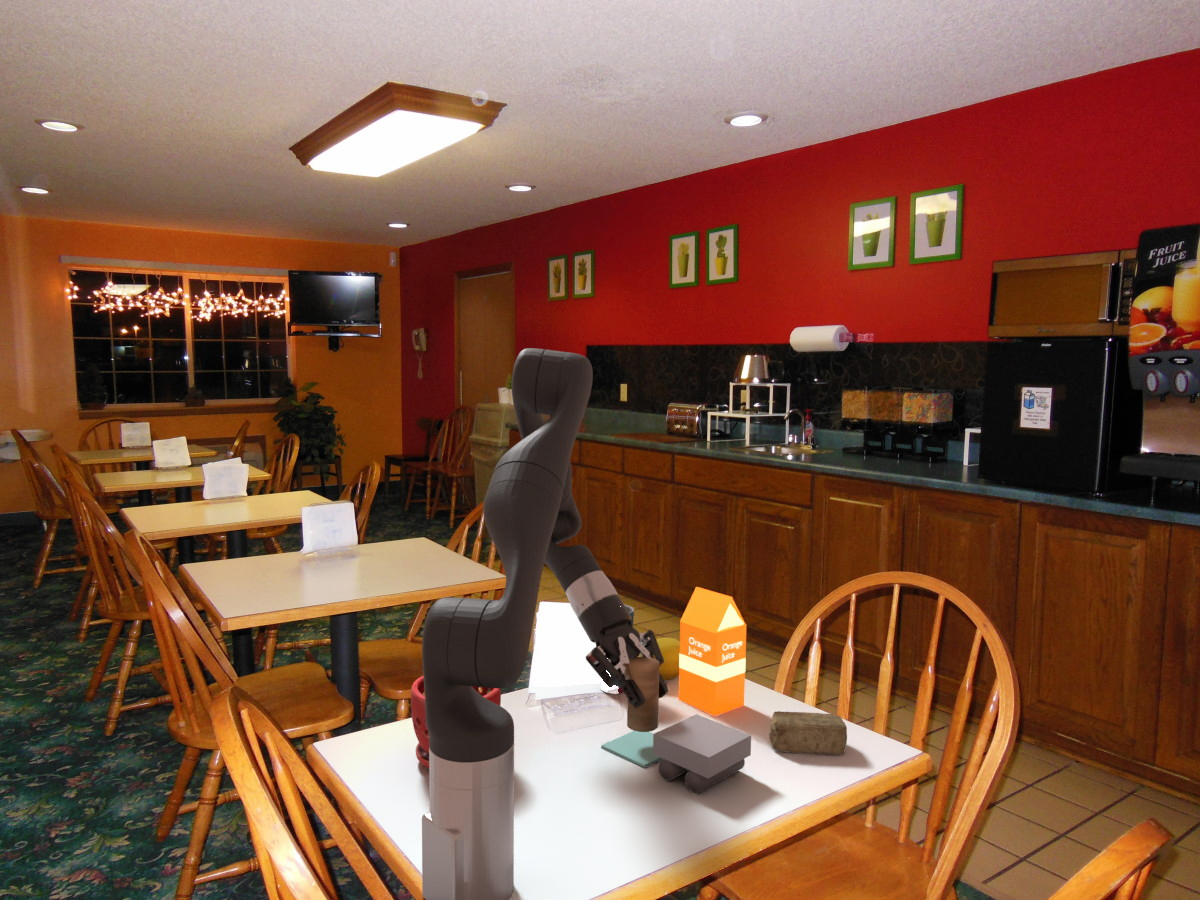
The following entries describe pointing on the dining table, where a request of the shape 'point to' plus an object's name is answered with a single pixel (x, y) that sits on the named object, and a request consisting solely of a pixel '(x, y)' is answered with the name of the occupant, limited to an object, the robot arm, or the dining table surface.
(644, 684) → the roller
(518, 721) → the dining table surface
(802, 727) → the stone block
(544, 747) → the dining table surface
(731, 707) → the orange juice
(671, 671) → the lemon
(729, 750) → the grey roller platform
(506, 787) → the robot arm
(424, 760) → the plant pot
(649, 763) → the teal pad
